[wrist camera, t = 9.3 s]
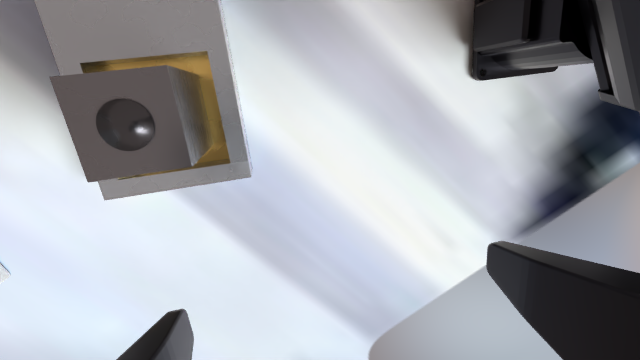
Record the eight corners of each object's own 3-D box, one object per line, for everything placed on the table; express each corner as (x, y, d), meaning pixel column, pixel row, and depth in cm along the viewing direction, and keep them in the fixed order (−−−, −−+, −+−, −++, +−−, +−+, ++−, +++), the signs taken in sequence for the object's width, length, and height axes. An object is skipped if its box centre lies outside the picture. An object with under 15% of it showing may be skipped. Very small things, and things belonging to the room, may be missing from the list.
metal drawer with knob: (198, 74, 17) (165, 64, 11) (213, 143, 18) (191, 167, 12) (122, 82, 16) (47, 76, 11) (143, 153, 18) (86, 183, 12)
